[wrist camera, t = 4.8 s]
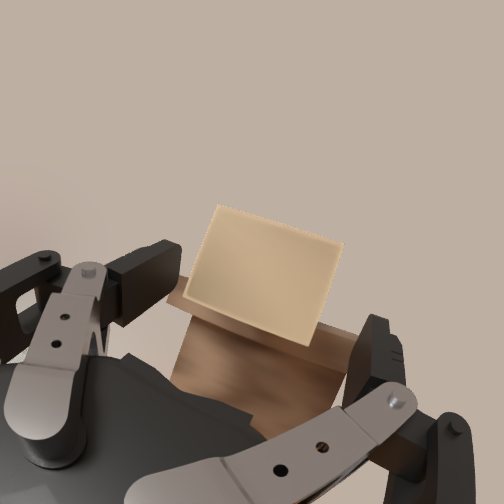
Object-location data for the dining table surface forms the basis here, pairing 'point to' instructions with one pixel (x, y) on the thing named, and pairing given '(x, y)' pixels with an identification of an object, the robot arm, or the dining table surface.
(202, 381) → the walnut pedestal
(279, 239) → the cream wooden bar
